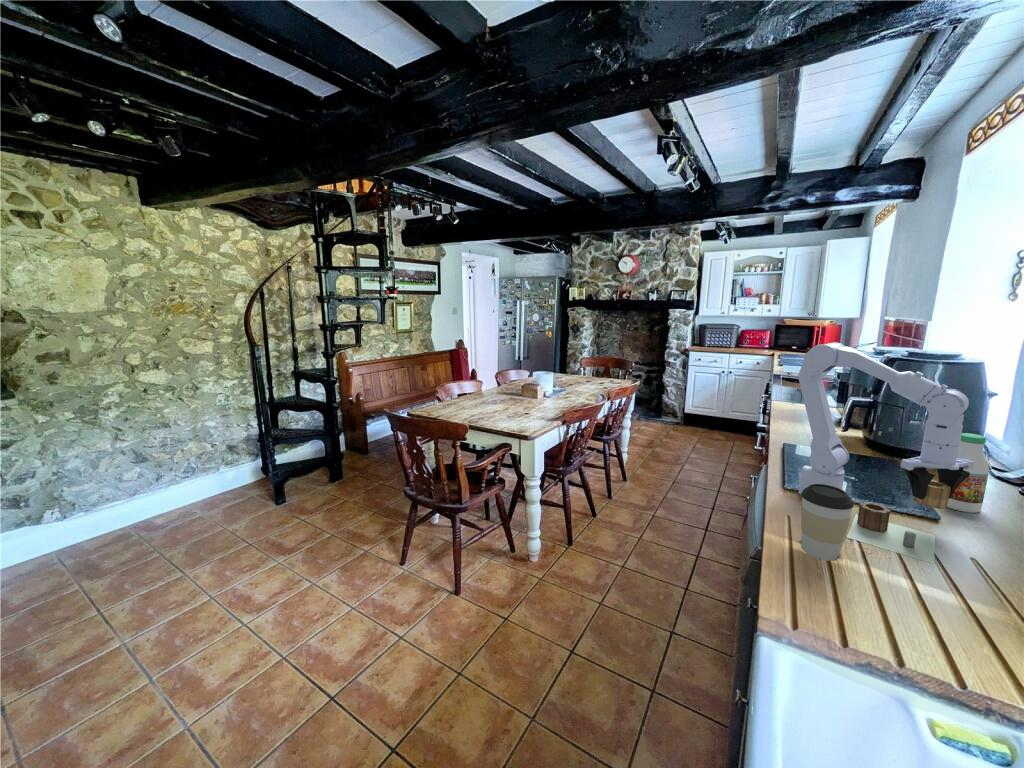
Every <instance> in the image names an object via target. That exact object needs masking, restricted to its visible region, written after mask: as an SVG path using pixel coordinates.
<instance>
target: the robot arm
mask: <svg viewBox="0 0 1024 768" xmlns="http://www.w3.org/2000/svg"><path fill="white" fill-rule="evenodd" d="M835 368H854V369H857V370H860V371H861V372H864V373H866V374H868V375H870V376H872V377H874V378H876V379H879V380H881V381H883V382H885V383H888V385H889V387H890V390H891V391H892V392H894V393H896V394H897V395H899V396H900V397H901V396H902V397H904V398H906V399H908V400H910V401H911V402H913V403H914V404H915V403H916V404H917V405H919V406H921V407H925V409H926V410H927V412H928V415H927V420H926V422H925V426H924V427H925V428H924V433H923V439H922V444H921V450H920V456H916V457H911V458H906V459H905V458H903V459H901V461H900V462H901V463H900V468H902V469H903V470H904V472H905V474H906V475H907V478H908V481H909V484H910V488H911V494H912V497H917V498H919V499H924V498H925V496H926V492H927V488H928V485H929V483H930V482H931V480H934V478H935V476H936V475H935V474H933V473H930V472H929V471H928V470H934V469H935V470H937V474H938V475H937V476H938V482H941V483H945V484H948V486H950V487H951V489H950V494H949V499H950V498H951V496H952V495H953V493H954V491H955V490H956V489H957V487H958V486H959V485H960V484H961V483H962V482H963V481H964V480H965V479H967V478H968V477H969V476H970V473H969V472H967V471H964V468H965V469H973V465H974V461H971V460H968V459H961V458H957V454H958V449H959V444H960V439H961V434H962V433H963V428H964V425H963V422H964V416H965V414H964V412H965V411H966V410H967V409H968V408H969V404H970V402H969V401H970V400H969V398H968V397H967V395H966V394H965V393H963V392H961V390H958V389H955V388H949V386H948V385H946V384H945V383H943V384H939V383H937V382H935V381H933V380H931V379H928V378H926V377H924V373H922V372H920V371H916V372H913V371H910V370H908V371H907V370H906V371H901V372H900V371H898V370H896V369H894V368H892V367H890V366H888V365H886V364H885V363H882V362H880V361H878V360H877V359H874V358H873V357H871V356H869V355H867V354H865V353H863V352H862V351H859V350H857V349H855V348H853V347H850V346H848V345H847V346H845V345H844V344H843V343H840V342H835V341H834V342H829V343H825V344H822V343H821V344H816V345H815V346H813V347H811V348H810V349H809V350H808V351H807V352H806V353H805V354H804V355H803V362H802V365H801V367H800V370H799V372H798V375H797V376H798V377H797V378H798V381H799V387H800V390H801V394H802V398H803V399H802V400H803V403H804V406H805V407H804V408H805V410H806V415H807V419H808V422H809V424H808V425H809V428H810V430H811V435H812V439H811V443H810V445H809V448H810V455H809V464H810V465H806V464H805V465H803V466H802V468H801V471H800V477H799V485H798V494H799V495H801V493H802V492H803V489H804V488H806V487H808V486H809V485H812V484H825V485H830V486H834V487H837V488H839V489H842V490H843V487H844V479H845V474H846V473H845V472H846V471H845V469H844V465H846V464H847V463H848V462H849V460H850V453H849V451H848V450H847V449H846V448H845V446H844V444H843V442H842V440H841V438H840V437H839V436H838V435H837V434H836V429H835V425H834V421H833V416H832V413H831V412H832V411H831V409H830V404H829V401H828V396H827V393H826V388H825V384H824V380H823V379H824V378H825V377H826V376H827V375H828V374H829V373H830V372H831V370H833V369H835Z"/></svg>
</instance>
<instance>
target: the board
mask: <svg viewBox="0 0 1024 768" xmlns="http://www.w3.org/2000/svg"><path fill="white" fill-rule="evenodd" d="M857 520H858V514H857V513H856V514H855V515H854V518H853V520H852V523H851V525H850V528H849V530H848V532H847V534H846V539H847V538H848V539H850V540H853V541H857V542H860V543H863V544H867V545H870V546H874V547H876V548H877V547H878V548H881V549H884V550H887V551H890V552H893V553H897V554H900V555H904V556H907V557H911V558H913V559H917V560H920V561H922V562H925V563H929V564H933V565H934V564H935V549H936V548H935V546H936V545H935V541H936V539H935V537H936V536H935V534H932V533H928V532H925V531H921V530H918V529H914V528H910V527H908V526H907V527H906V526H904V525H903V526H902V525H899V524H896V523H891V522H888V528H887V531H884V532H883V533H880V532H876V531H870V530H868V529H865V528H862V527H860V526H859V524H858V523H857Z"/></svg>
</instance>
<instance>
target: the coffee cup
mask: <svg viewBox="0 0 1024 768" xmlns="http://www.w3.org/2000/svg"><path fill="white" fill-rule="evenodd" d="M800 495H801V497H802V498H801V499H802V500H801V503H800V504H801V505H800V506H801V507H800V515H801V517H800V522H801V523H800V528H801V529H800V530H801V549H802V550H803V552H804V553H806V554H808V555H809V556H811V557H813V558H815V559H817V560H823V561H831V562H833V561H838V560H839V559H840V554H841V552H842V547H843V544H844V542H845V540H846V539H845V538H846V537H847V533H848V528H849V525H850V522H851V514H852V513H851V512H852V509H853V508H854V506H855V505H854V503H853V499H852V498H851V497H850V496H849V495H848V493H847V491H845V490H843V488H842V489H839V488H837V487H834V486H830V485H825V484H812V485H809V486H808V487H806V488H804V489H803V492H802V493H801V494H800Z"/></svg>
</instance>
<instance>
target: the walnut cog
mask: <svg viewBox="0 0 1024 768" xmlns="http://www.w3.org/2000/svg"><path fill="white" fill-rule="evenodd" d="M890 515H891V510H890V509H889V507H887V506H885V505H881V504H879V503H875V502H868V501H863V502H860V503H859V507H858V520H857V523H858V524H859V526H860V527H862V528H865V529H868V530H870V531H876V532H880V533H883V532H884V531H887V528H888V523H890V522H889V521H890V517H891V516H890Z"/></svg>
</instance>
